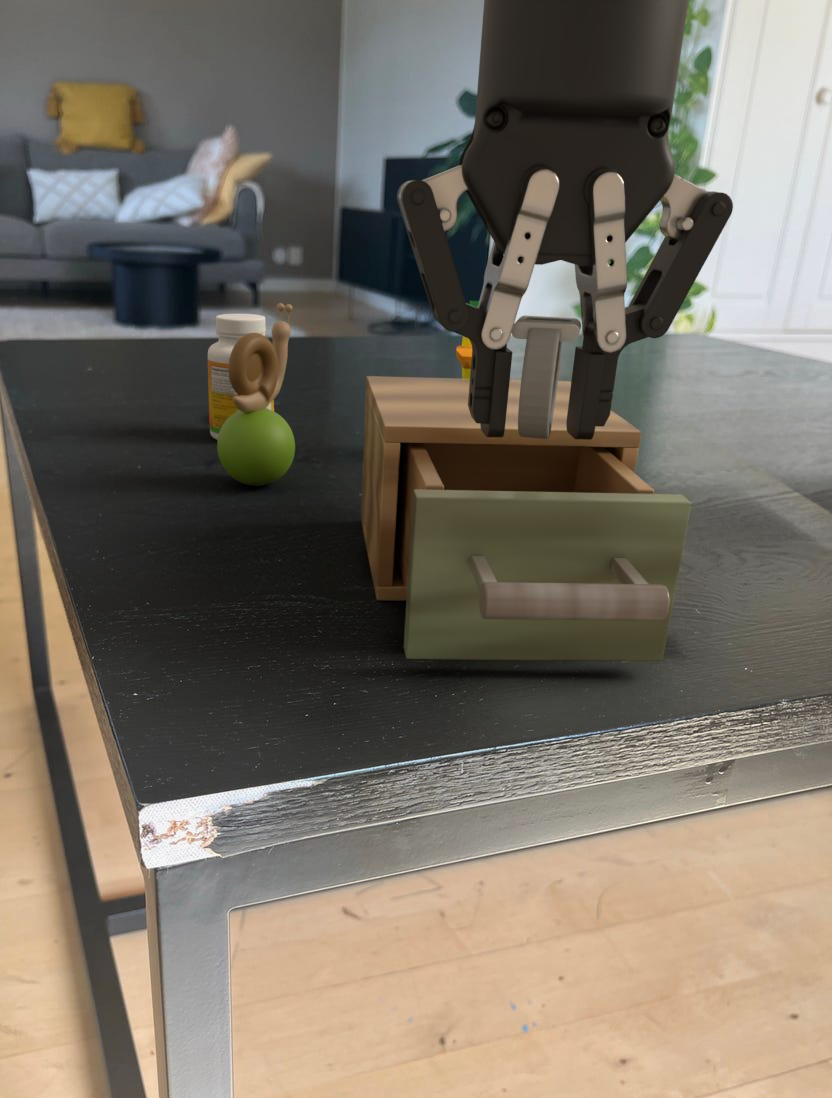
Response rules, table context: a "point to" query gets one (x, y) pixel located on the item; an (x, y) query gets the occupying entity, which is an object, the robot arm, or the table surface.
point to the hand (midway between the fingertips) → (536, 432)
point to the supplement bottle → (218, 360)
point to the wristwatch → (541, 370)
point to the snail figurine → (257, 409)
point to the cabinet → (445, 418)
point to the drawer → (535, 554)
